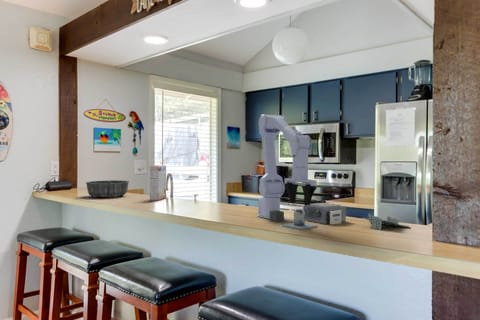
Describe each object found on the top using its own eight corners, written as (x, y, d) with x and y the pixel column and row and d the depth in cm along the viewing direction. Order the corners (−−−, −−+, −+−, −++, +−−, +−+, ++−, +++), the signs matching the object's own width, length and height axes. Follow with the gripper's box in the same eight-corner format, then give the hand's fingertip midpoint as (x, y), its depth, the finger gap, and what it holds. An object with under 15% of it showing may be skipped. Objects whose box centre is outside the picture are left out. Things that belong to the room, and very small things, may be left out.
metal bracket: (397, 216, 126) (357, 211, 136) (395, 233, 124) (354, 227, 135) (412, 223, 135) (373, 218, 146) (410, 238, 134) (371, 232, 145)
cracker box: (157, 198, 228) (157, 165, 228) (166, 198, 227) (166, 165, 227) (148, 200, 214) (149, 165, 214) (158, 200, 213) (158, 165, 213)
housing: (302, 220, 149) (302, 204, 149) (323, 217, 156) (323, 202, 156) (324, 224, 139) (324, 207, 139) (345, 221, 147) (345, 205, 147)
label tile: (329, 224, 139) (329, 211, 139) (339, 223, 143) (340, 210, 143) (331, 224, 139) (331, 211, 139) (341, 223, 142) (341, 210, 142)
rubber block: (269, 221, 147) (269, 211, 147) (277, 220, 149) (277, 210, 149) (276, 222, 144) (276, 212, 144) (283, 221, 146) (283, 211, 146)
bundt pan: (98, 200, 216) (98, 183, 216) (78, 196, 233) (78, 181, 233) (136, 197, 235) (137, 181, 235) (116, 194, 253) (116, 179, 253)
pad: (282, 225, 135) (282, 224, 135) (299, 223, 141) (299, 222, 141) (299, 229, 128) (299, 228, 128) (317, 227, 133) (317, 225, 133)
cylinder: (291, 224, 135) (291, 209, 135) (299, 223, 137) (299, 208, 137) (298, 226, 131) (298, 210, 131) (306, 225, 134) (307, 210, 134)
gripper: (279, 167, 138) (278, 202, 138) (306, 168, 126) (306, 207, 126) (292, 166, 142) (292, 201, 142) (320, 168, 130) (320, 205, 130)
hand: (299, 204), depth 134 cm, fingers open, 7 cm apart
